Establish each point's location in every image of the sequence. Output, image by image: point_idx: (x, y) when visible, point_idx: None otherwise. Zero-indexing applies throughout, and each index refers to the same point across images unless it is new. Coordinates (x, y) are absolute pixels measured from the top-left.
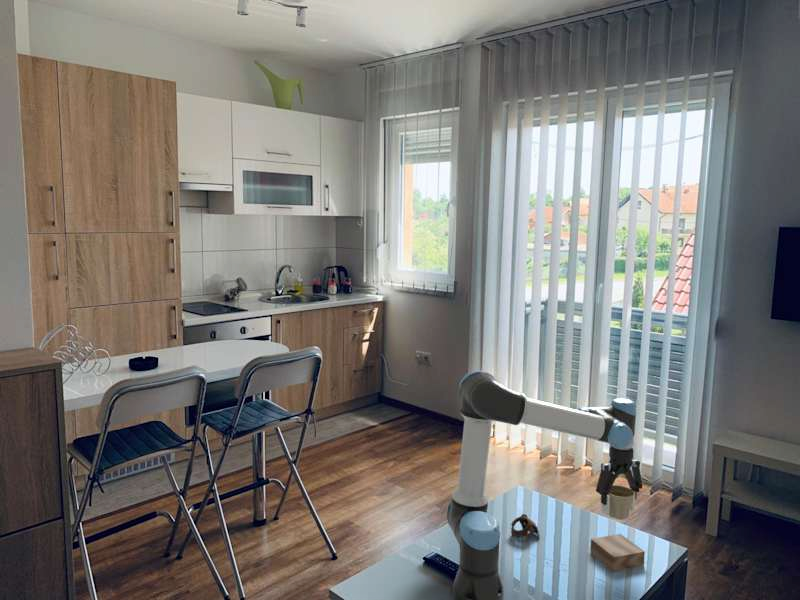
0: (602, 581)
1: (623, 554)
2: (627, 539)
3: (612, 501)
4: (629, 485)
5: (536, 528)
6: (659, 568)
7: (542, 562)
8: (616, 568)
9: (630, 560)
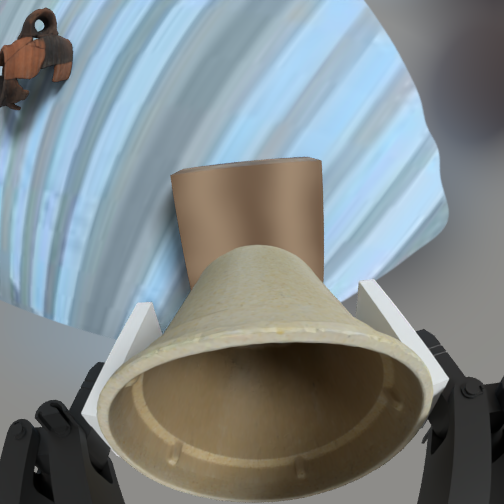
0: None
1: None
2: (320, 208)
3: (171, 419)
4: (453, 419)
5: (45, 67)
6: (344, 286)
7: (38, 204)
8: None
9: None
